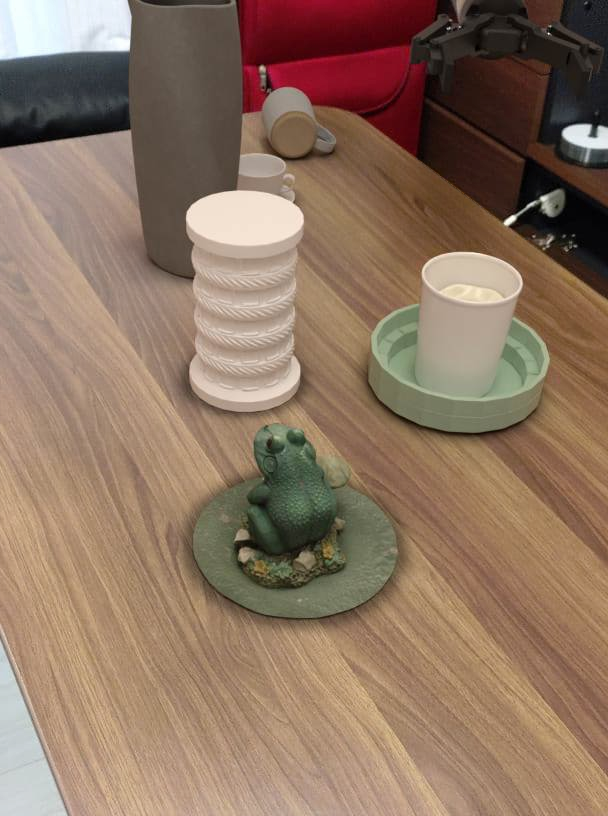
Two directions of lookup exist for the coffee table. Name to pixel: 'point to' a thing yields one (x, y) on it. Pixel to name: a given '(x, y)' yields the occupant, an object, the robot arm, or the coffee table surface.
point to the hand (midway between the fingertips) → (516, 82)
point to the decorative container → (244, 299)
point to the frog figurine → (295, 534)
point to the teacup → (264, 175)
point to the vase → (183, 115)
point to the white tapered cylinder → (464, 322)
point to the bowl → (493, 411)
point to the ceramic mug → (293, 124)
